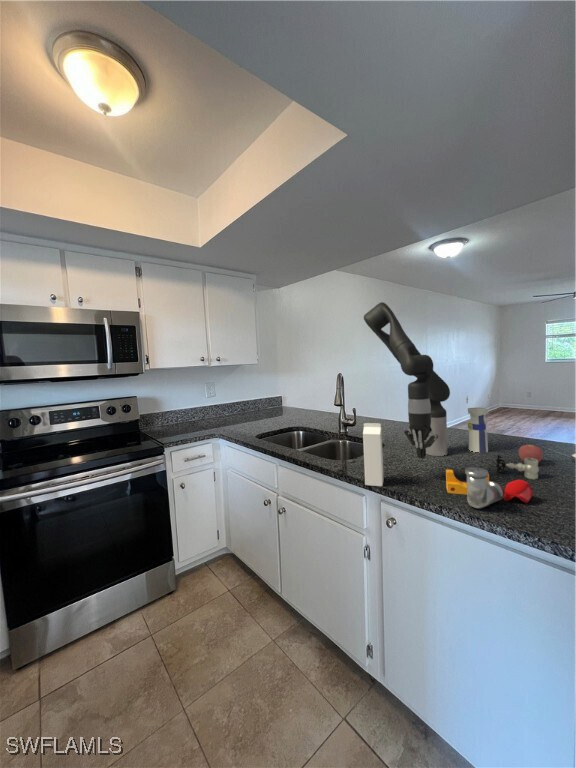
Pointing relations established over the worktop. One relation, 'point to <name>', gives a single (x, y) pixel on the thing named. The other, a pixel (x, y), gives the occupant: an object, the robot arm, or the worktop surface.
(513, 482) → the cap
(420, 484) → the worktop surface
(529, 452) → the apple
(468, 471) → the duct elbow
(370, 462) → the milk
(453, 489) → the pipe clamp
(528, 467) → the valve
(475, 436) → the water bottle
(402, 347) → the robot arm
